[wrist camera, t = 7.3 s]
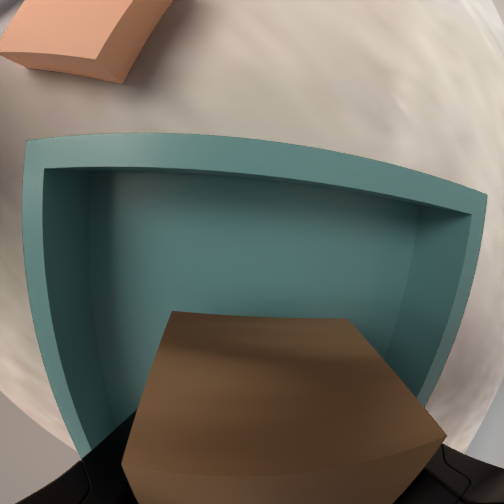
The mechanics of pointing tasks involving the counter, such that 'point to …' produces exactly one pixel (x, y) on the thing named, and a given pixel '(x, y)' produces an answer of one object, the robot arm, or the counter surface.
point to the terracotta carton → (81, 35)
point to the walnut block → (274, 416)
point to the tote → (231, 255)
